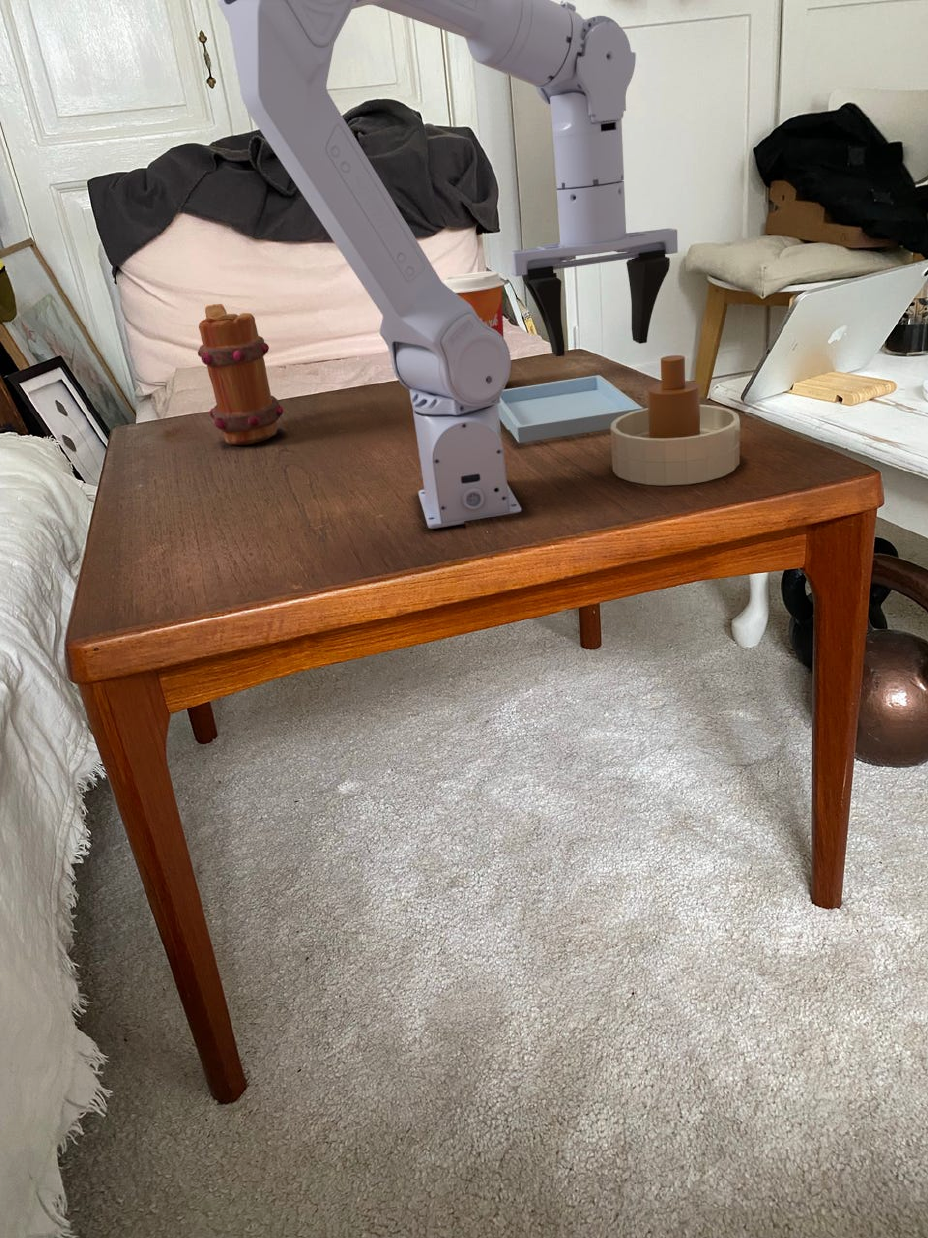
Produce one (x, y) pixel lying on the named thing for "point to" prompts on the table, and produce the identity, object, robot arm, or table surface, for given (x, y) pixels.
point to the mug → (238, 376)
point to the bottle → (673, 402)
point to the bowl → (676, 449)
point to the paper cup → (481, 295)
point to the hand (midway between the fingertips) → (599, 347)
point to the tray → (562, 408)
